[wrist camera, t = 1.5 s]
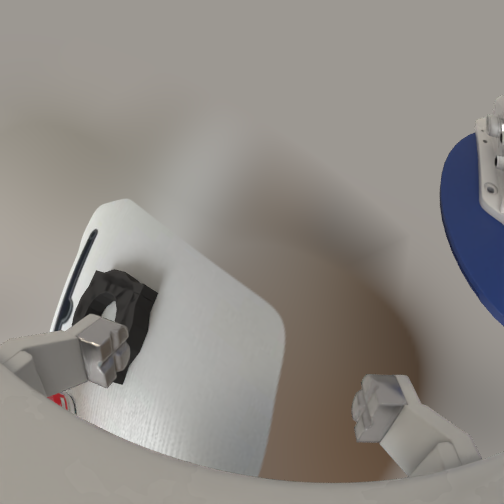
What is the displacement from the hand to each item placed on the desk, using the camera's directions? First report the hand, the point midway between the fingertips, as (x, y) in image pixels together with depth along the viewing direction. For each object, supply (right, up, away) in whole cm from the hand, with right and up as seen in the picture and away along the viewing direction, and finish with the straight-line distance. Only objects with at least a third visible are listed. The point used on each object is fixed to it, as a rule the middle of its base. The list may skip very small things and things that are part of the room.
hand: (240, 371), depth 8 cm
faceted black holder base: (-18, -6, +24) cm, 30 cm away
